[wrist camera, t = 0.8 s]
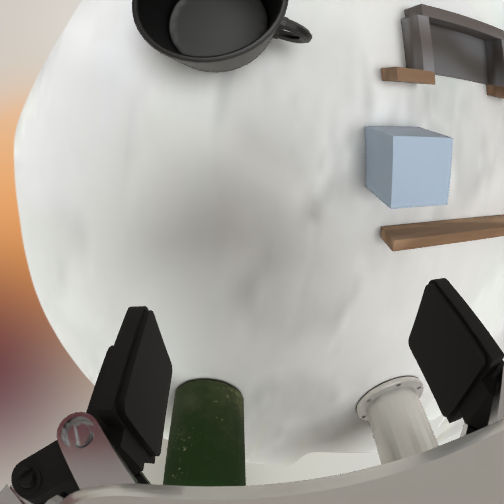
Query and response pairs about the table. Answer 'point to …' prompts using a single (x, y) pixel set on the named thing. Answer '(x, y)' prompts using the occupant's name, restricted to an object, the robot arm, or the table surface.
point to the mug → (215, 30)
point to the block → (408, 166)
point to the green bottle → (206, 436)
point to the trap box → (423, 72)
